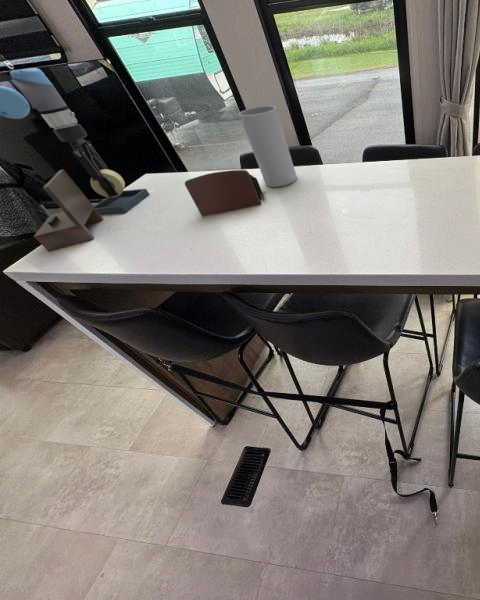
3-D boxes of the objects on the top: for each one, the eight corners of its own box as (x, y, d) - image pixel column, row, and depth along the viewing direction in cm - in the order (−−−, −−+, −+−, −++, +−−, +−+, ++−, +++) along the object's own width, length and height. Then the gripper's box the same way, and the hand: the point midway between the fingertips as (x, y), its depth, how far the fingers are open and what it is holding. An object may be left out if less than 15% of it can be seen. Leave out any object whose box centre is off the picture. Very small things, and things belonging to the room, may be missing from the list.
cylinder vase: (269, 177, 132) (243, 108, 115) (299, 173, 132) (278, 104, 116) (263, 189, 123) (234, 117, 106) (295, 185, 123) (272, 112, 106)
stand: (52, 255, 99) (-6, 198, 86) (67, 233, 110) (17, 178, 97) (97, 244, 102) (47, 186, 89) (106, 223, 113) (63, 169, 100)
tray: (126, 212, 118) (121, 206, 117) (93, 215, 119) (88, 209, 117) (149, 194, 130) (145, 188, 128) (120, 197, 130) (116, 191, 129)
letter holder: (263, 208, 111) (246, 167, 101) (203, 220, 108) (180, 179, 98) (264, 197, 118) (248, 157, 108) (208, 208, 115) (187, 168, 106)
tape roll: (101, 200, 119) (83, 176, 113) (104, 196, 122) (86, 172, 116) (128, 194, 121) (112, 170, 115) (130, 189, 125) (114, 166, 118)
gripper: (71, 129, 100) (122, 199, 116) (85, 118, 112) (129, 182, 128) (43, 134, 98) (98, 204, 114) (60, 122, 110) (108, 187, 126)
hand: (114, 193), depth 121 cm, fingers closed on tape roll, 5 cm apart
